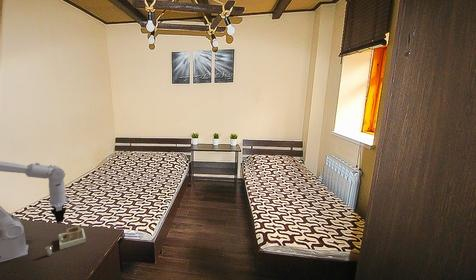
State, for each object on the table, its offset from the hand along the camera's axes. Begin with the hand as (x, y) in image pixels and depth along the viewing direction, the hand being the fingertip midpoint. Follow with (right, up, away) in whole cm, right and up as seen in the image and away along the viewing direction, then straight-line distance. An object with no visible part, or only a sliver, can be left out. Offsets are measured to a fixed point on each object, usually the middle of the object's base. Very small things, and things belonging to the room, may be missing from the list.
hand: (59, 218), depth 111 cm
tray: (+6, -10, 0) cm, 12 cm away
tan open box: (+7, -10, 0) cm, 12 cm away
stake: (+4, -12, -11) cm, 17 cm away
